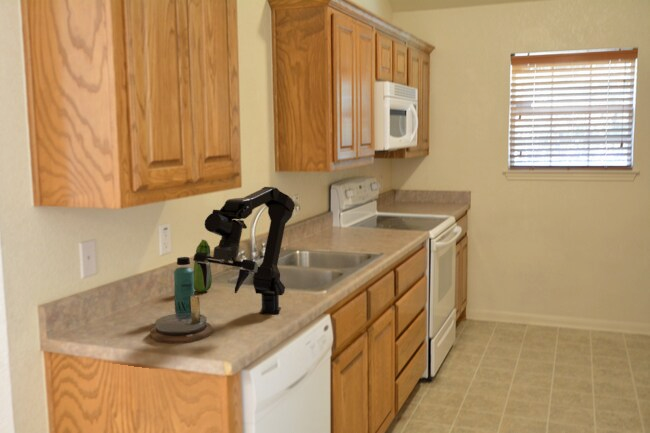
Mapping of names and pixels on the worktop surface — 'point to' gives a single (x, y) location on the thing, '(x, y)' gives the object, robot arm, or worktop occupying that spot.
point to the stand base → (181, 336)
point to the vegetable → (198, 273)
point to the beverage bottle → (183, 286)
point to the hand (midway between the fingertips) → (220, 290)
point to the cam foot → (183, 321)
